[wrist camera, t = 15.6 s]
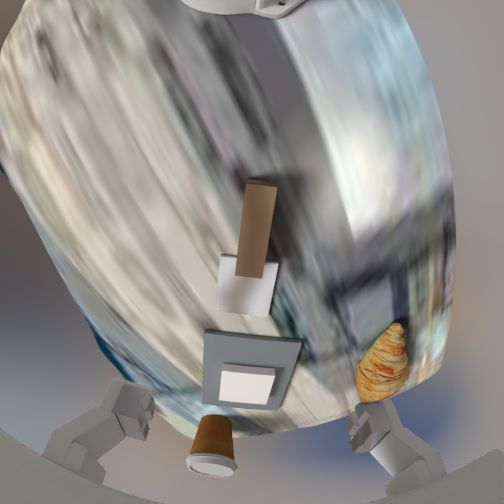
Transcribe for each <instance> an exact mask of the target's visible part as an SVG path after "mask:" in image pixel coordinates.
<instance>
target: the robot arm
mask: <svg viewBox="0 0 504 504" xmlns="http://www.w3.org/2000/svg"><path fill="white" fill-rule="evenodd" d="M181 1H183V2H184V3H185V4H187V5H188V6H190V7H192V8H194V9H197V10H199V11H203V12H207V13H213V14H244V13H251V14H256V15H260V16H264V17H268V18H274V19H277V18H281V17H283V16H285V15H286V14H287V13H289V12H290V11H291V10H293V9H294V8H295V7H297V6H298V5H299V4H301V3H302V2H304V1H305V0H181ZM279 3H283V4H285V5H284V6H281V5H279ZM152 393H153V392H152V388H151V387H148V386H144V385H140V384H136V383H133V382H129V381H126V380H122V379H119V378H114V379H113V380H112V381H111V383H110V386H109V387H108V389H107V392H106V394H105V396H104V398H103V400H102V402H101V404H100V407H99V408H97V407H95V408H93V409H91V410H90V411H88V412H86V413H84V414H83V415H81V416H79V417H77V418H76V419H74V420H72V421H71V422H69V423H67V424H65V425H63V426H62V427H60V428H58V429H56V430H54V431H53V433H52V435H51V437H50V439H49V441H48V443H47V446H46V448H45V450H44V452H43V454H42V456H41V455H40V454H38V453H36V452H35V451H33V450H31V449H30V448H28V447H27V446H25V445H24V444H22V443H20V442H19V441H18V440H16V439H15V438H13V437H12V436H11V435H9V434H8V433H6V432H5V431H4V430H2V429H1V428H0V504H163V503H159V502H155V501H151V500H147V499H143V498H140V497H137V496H133V495H130V494H127V493H123V492H121V491H118V490H115V489H112V488H109V487H107V486H104V485H102V484H103V480H104V477H105V473H106V471H105V470H104V468H103V467H102V466H101V465H100V464H99V463H98V462H97V460H98V459H99V458H100V457H102V456H103V455H104V454H105V453H107V452H108V451H109V450H110V449H112V448H113V447H114V446H115V445H117V444H118V443H119V442H120V441H122V440H123V439H124V438H125V437H126V436H128V437H132V438H135V439H139V440H143V441H146V438H147V435H148V431H149V425H148V422H149V421H150V420H152V418H153V414H154V409H155V401H154V398H153V397H152ZM355 410H356V411H354V412H352V413H351V414H350V415H349V417H348V419H347V431H348V433H349V434H350V435H351V436H352V438H351V440H350V443H351V448H352V451H353V453H360V452H368V451H370V453H371V454H372V455H373V456H374V457H375V458H376V459H377V460H378V461H379V462H380V464H381V465H382V466H384V468H385V469H386V470H387V471H388V472H389V473H390V474H391V475H392V476H393V477H394V478H393V479H391V480H390V481H388V482H387V483H386V484H385V485H384V486H385V490H386V494H387V498H383V499H379V500H375V501H371V502H367V503H363V504H504V452H502V451H500V450H498V449H495V450H492V451H490V452H488V453H487V454H485V455H483V456H482V457H480V458H479V459H477V460H475V461H473V462H471V463H469V464H468V465H466V466H464V467H462V468H460V469H458V470H456V471H454V472H452V473H450V474H447V472H446V470H445V467H444V464H443V462H442V459H441V456H440V454H439V452H437V451H436V450H434V449H433V448H432V447H430V446H429V445H428V444H426V443H425V442H424V441H422V440H421V439H420V438H418V437H417V436H416V435H415V434H413V433H412V432H411V431H410V430H408V429H407V428H403V426H402V424H401V421H400V419H399V416H398V414H397V411H396V409H395V406H394V404H393V402H392V401H391V400H382V401H372V402H363V403H358V404H357V405H356V407H355Z"/></svg>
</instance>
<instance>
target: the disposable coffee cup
mask: <svg viewBox="0 0 504 504" xmlns="http://www.w3.org/2000/svg"><path fill="white" fill-rule="evenodd" d="M233 451H234V450H233V439H232V428H231V421H230V420H229V419H227V418H225V417H223V416H219V415H207V416H204V417H202V419H201V421H200V425H199V428H198V431H197V434H196V437H195V440H194V443H193V446H192V449H191V452H190V455H189V456H188V458H187V459H186V463H187V466H188V469H189V470H190V471H192V472H194V473H197V474H200V475H204V476H209V477H227V476H231V475H233V474H234V472H235V470H236V469H237V465H236V463H235V461H234V452H233Z"/></svg>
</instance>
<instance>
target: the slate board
mask: <svg viewBox="0 0 504 504" xmlns="http://www.w3.org/2000/svg"><path fill="white" fill-rule="evenodd" d="M301 345H302V340H301V339H288V338H275V337H265V336H255V335H245V334H237V333H228V332H221V331H213V330H206V329H205V332H204V355H203V398H202V403H203V404H210V405H217V406H226V407H235V408H245V409H259V410H278V409H279V406H280V403H281V401H282V398H283V396H284V393H285V390H286V388H287V385H288V382H289V379H290V377H291V374H292V371H293V368H294V365H295V363H296V360H297V357H298V354H299V351H300V348H301ZM223 363H225V364H233V365H242V366H252V367H263V368H275V378H274V381H273V384H272V388H271V391H270V394H269V397H268V400H267V403H266V404H251V403H240V402H230V401H222V400H219V394H220V384H221V373H222V365H223Z"/></svg>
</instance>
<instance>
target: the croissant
mask: <svg viewBox="0 0 504 504" xmlns="http://www.w3.org/2000/svg"><path fill="white" fill-rule="evenodd" d="M403 332H404V330H403V328H402V326H401V324H400V323H397V322H396V323H394V324H392V325H390V326H389V328H387V329H386V330H385V331H384V332H383V334H381V335H380V336H379V337H378V338H377V339H376V341H375V342H374V343H373V345H372V346H371V347H370V348H369V349H368V350H367V352H366V354H365V355H364V357H363V358H362V361H361V360H360V361H359V362H358V364H357V390H358V393H359V395H360V399H361V403H363V402H372V401H382V400H385V399H387V398H389V397H391V396H393V395H394V394H395V393H397V392H398V391H399V390H400V389H401V388H402V387H403V386H404V384H405V383H406V381H407V380H408V377H409V374H410V369H409V367H408V363H407V362H408V357H407V354H406V353H405V346H406V342H405V341H404V337H403V336H402V334H403Z"/></svg>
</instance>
